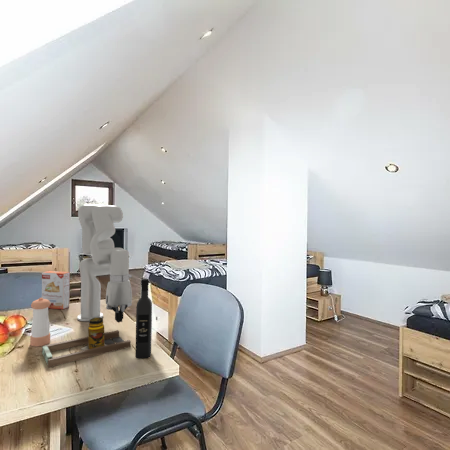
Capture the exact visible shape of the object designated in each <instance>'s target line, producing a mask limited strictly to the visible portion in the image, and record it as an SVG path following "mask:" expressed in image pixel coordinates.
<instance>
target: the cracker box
mask: <svg viewBox="0 0 450 450" xmlns="http://www.w3.org/2000/svg"><path fill="white" fill-rule="evenodd" d="M70 275H71V273H70V271H57V270H47V271H43V272H41V298H43V299H47V300H49V301H50V306H49V307H48V309H53V310H65V309H67V308H69V307H70V284H71V283H70V280H71V276H70Z"/></svg>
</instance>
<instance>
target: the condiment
mask: <svg viewBox="0 0 450 450" xmlns="http://www.w3.org/2000/svg"><path fill="white" fill-rule="evenodd" d="M88 325H89V326H88V328H87V331H88V332H87V335H88V336H87V337H88V344H86V346H84V347H81V348H80V350H81V351H84V350H88V349H92V348H97V347H101V346H105V345H106V344H105V343H104V333H105V325H104V319H103V317H102V318H100V317H97V318H92V319H90V320H89V321H88Z"/></svg>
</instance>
